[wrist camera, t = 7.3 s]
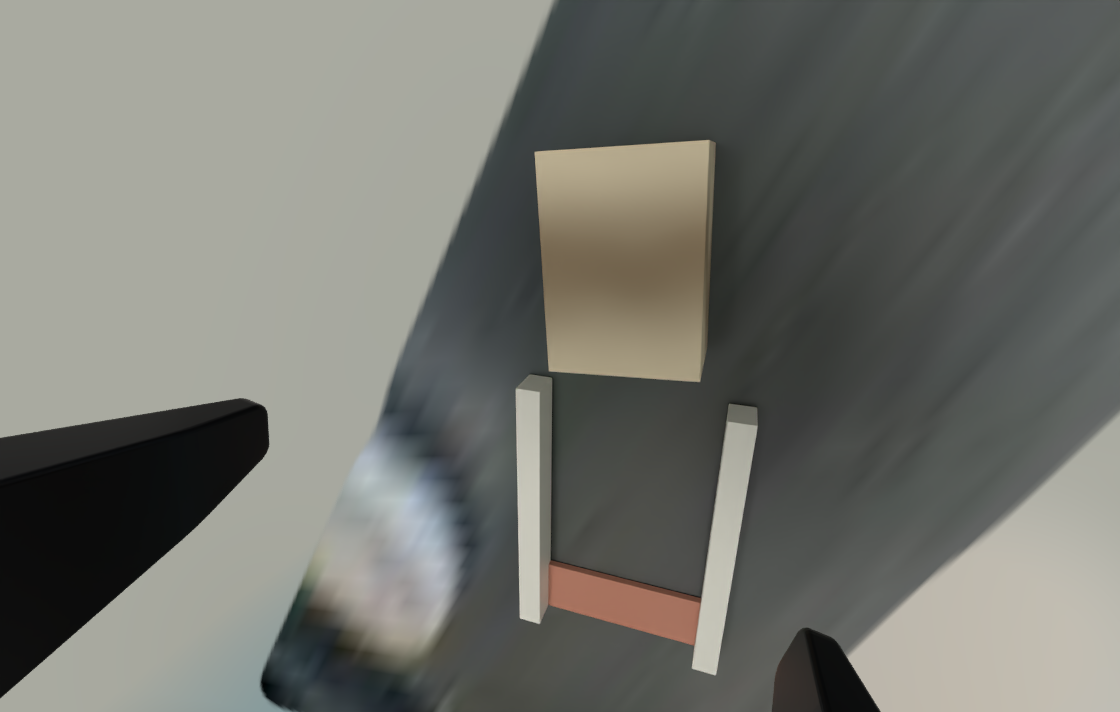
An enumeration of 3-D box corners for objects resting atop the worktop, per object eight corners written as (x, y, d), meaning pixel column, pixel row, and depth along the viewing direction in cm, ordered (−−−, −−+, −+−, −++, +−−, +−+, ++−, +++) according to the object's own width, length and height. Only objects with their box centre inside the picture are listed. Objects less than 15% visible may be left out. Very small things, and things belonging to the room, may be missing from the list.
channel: (717, 646, 24) (716, 675, 22) (531, 595, 26) (520, 618, 25) (757, 407, 19) (757, 426, 18) (529, 374, 22) (515, 388, 21)
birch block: (707, 346, 20) (699, 381, 16) (577, 339, 21) (548, 371, 18) (716, 143, 17) (709, 139, 14) (569, 152, 19) (534, 151, 16)
